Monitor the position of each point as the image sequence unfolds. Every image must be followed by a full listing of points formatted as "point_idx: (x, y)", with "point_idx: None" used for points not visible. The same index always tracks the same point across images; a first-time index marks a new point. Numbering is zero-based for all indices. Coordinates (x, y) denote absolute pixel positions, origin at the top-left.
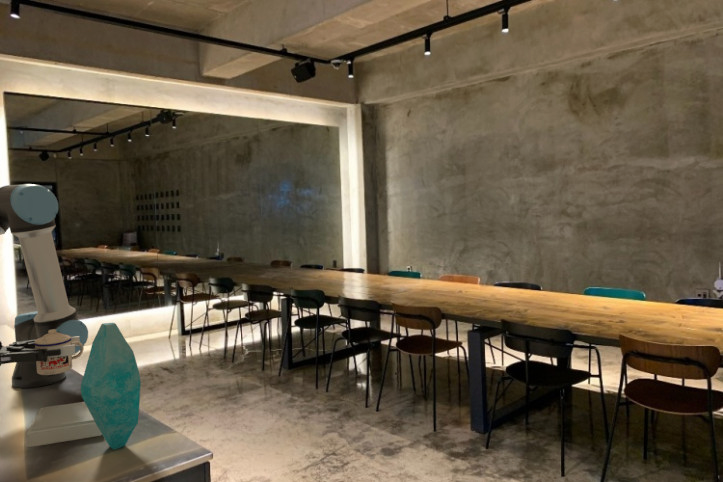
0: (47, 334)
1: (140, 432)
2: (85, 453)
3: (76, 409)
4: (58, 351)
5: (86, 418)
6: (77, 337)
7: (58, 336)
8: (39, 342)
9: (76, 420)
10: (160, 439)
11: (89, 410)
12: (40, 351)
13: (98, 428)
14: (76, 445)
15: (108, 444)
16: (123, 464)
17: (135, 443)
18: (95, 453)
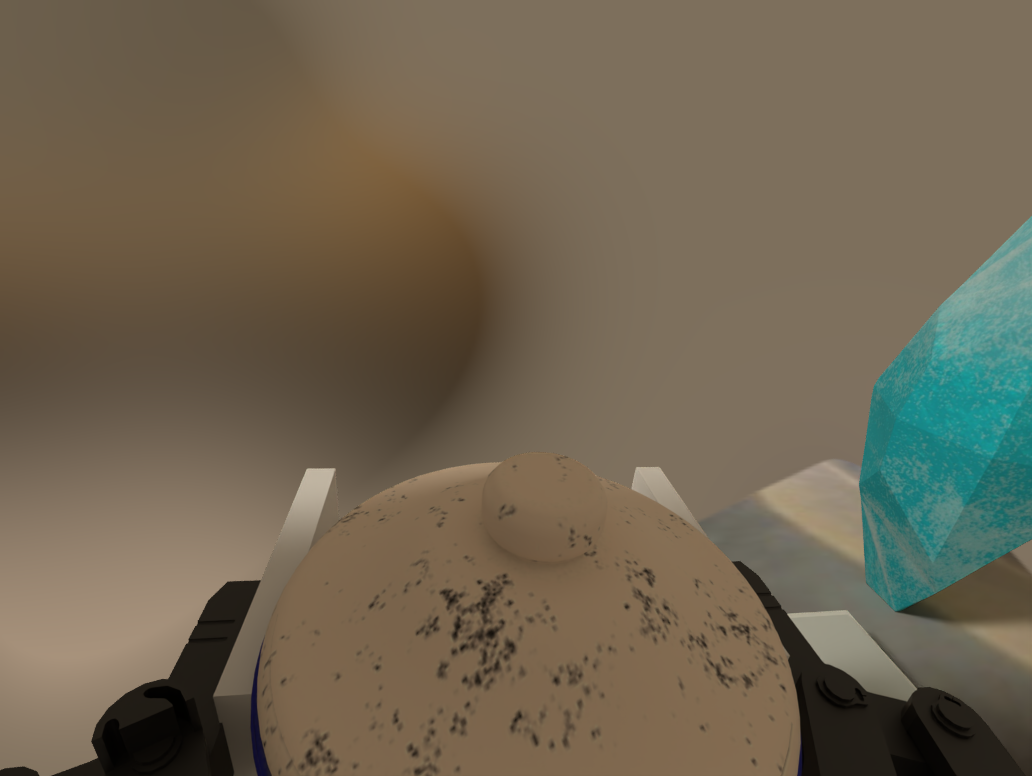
0: (587, 582)
1: (773, 550)
2: (981, 675)
3: None
4: (751, 581)
5: (855, 654)
6: (332, 481)
7: (608, 495)
8: (792, 731)
9: (892, 692)
10: (804, 512)
11: (1020, 544)
12: (958, 704)
13: (932, 594)
14: None
15: (902, 609)
16: None
17: (847, 555)
18: (962, 644)
